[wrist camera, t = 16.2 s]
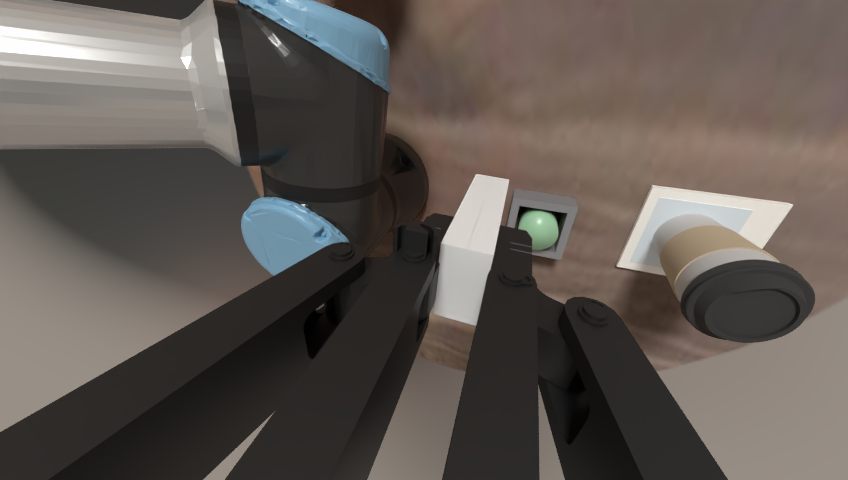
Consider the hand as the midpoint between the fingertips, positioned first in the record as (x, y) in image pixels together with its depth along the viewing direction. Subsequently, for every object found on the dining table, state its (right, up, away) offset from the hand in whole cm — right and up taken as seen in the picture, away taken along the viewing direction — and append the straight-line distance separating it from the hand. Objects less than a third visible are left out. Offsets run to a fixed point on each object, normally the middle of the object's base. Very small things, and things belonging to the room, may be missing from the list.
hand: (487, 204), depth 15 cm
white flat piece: (+32, -1, +25) cm, 40 cm away
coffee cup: (+30, -1, +25) cm, 39 cm away
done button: (+13, +1, +29) cm, 32 cm away
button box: (+13, +1, +30) cm, 33 cm away
